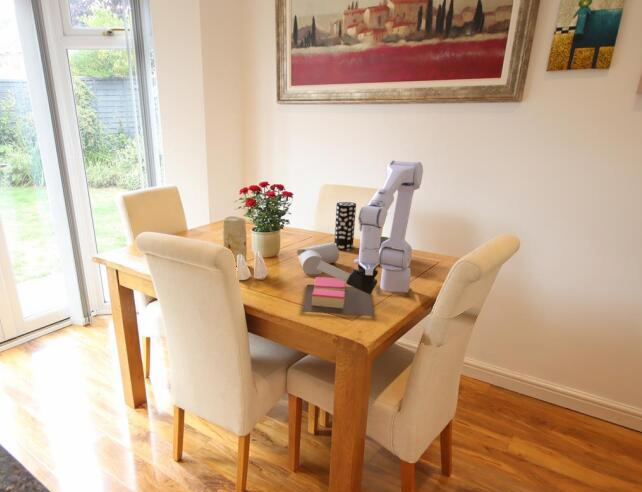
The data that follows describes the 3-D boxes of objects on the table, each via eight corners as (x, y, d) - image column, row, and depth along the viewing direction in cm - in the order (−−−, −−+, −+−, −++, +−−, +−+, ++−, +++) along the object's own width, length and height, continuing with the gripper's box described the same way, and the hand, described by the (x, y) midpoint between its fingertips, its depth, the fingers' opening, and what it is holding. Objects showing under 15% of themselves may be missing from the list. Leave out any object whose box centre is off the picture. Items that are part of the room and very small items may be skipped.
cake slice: (344, 302, 150) (345, 291, 149) (343, 308, 146) (343, 296, 145) (313, 299, 153) (314, 288, 151) (311, 305, 149) (312, 294, 147)
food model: (248, 262, 193) (247, 215, 185) (245, 268, 187) (244, 219, 179) (225, 261, 195) (224, 215, 187) (221, 266, 189) (219, 219, 181)
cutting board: (369, 290, 162) (370, 287, 161) (374, 319, 141) (374, 316, 141) (307, 287, 166) (307, 284, 166) (302, 314, 145) (302, 311, 145)
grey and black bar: (369, 291, 142) (377, 279, 140) (370, 294, 140) (377, 282, 138) (316, 267, 143) (323, 255, 141) (316, 270, 141) (323, 257, 139)
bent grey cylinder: (290, 257, 194) (296, 274, 175) (297, 233, 189) (303, 248, 171) (331, 265, 195) (341, 282, 177) (338, 241, 191) (349, 256, 173)
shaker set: (268, 277, 176) (268, 249, 172) (268, 281, 173) (268, 253, 168) (237, 276, 178) (236, 249, 173) (236, 280, 174) (235, 252, 169)
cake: (344, 289, 161) (344, 278, 159) (344, 298, 154) (344, 287, 152) (315, 287, 163) (315, 276, 161) (313, 296, 156) (314, 285, 154)
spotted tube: (330, 246, 211) (333, 202, 203) (347, 244, 213) (349, 201, 205) (339, 251, 203) (342, 206, 196) (356, 249, 206) (359, 205, 198)
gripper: (355, 239, 143) (351, 279, 148) (356, 253, 130) (352, 297, 135) (378, 240, 142) (374, 281, 147) (382, 254, 129) (377, 299, 134)
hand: (365, 289), depth 141 cm, fingers closed on grey and black bar, 2 cm apart
